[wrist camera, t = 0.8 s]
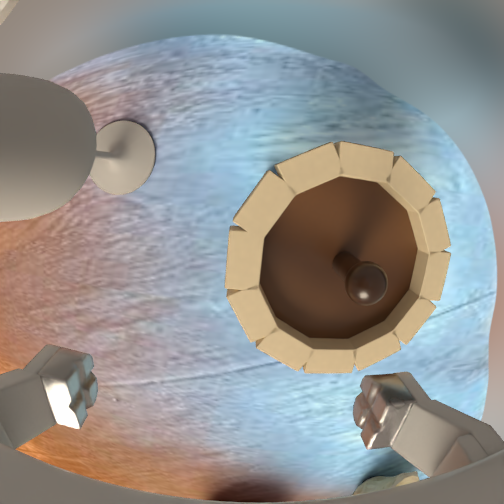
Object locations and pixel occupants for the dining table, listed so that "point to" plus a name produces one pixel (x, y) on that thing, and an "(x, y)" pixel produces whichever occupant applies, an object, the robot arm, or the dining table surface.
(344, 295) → the rack
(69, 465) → the dining table surface
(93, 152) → the wineglass
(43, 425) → the robot arm
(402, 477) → the bowl
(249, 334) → the hoop
